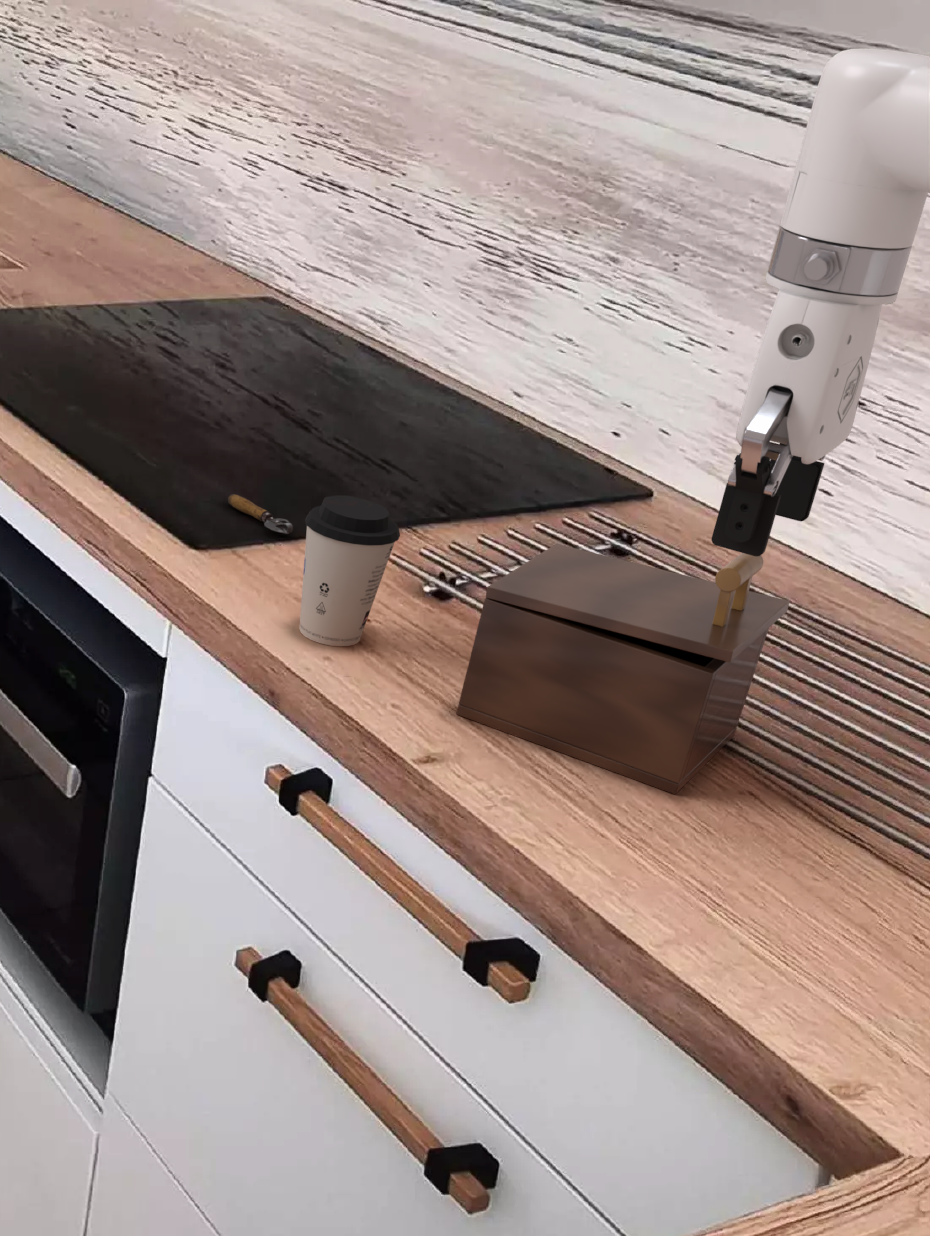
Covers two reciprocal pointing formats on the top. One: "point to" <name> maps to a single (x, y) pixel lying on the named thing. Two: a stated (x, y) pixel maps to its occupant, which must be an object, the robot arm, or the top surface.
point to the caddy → (604, 694)
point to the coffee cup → (343, 567)
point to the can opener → (259, 514)
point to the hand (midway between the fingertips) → (759, 532)
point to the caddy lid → (646, 599)
